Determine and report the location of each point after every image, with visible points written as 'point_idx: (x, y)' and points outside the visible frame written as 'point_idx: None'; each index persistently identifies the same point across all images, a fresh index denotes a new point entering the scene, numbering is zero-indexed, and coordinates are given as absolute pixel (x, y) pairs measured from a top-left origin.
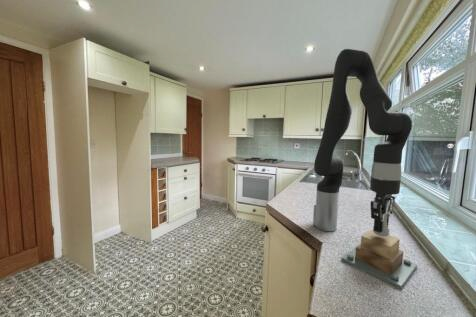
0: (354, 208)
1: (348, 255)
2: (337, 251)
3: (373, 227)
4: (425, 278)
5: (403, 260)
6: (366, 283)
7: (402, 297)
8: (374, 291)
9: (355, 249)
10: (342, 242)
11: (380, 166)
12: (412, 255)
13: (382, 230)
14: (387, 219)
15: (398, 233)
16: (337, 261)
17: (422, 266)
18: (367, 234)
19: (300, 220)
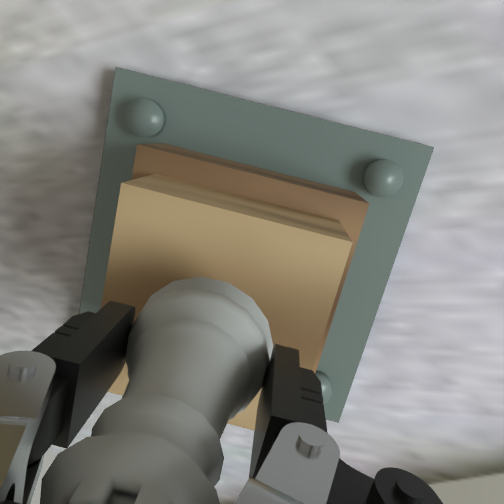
0: None
1: (139, 104)
2: (221, 17)
3: (174, 294)
4: (252, 431)
5: (339, 370)
6: (10, 222)
7: (30, 347)
8: None
9: (296, 123)
10: (394, 11)
11: None
12: (479, 406)
13: (113, 377)
14: (252, 473)
15: None
16: (94, 53)
17: (369, 434)
18: (197, 224)
19: None
